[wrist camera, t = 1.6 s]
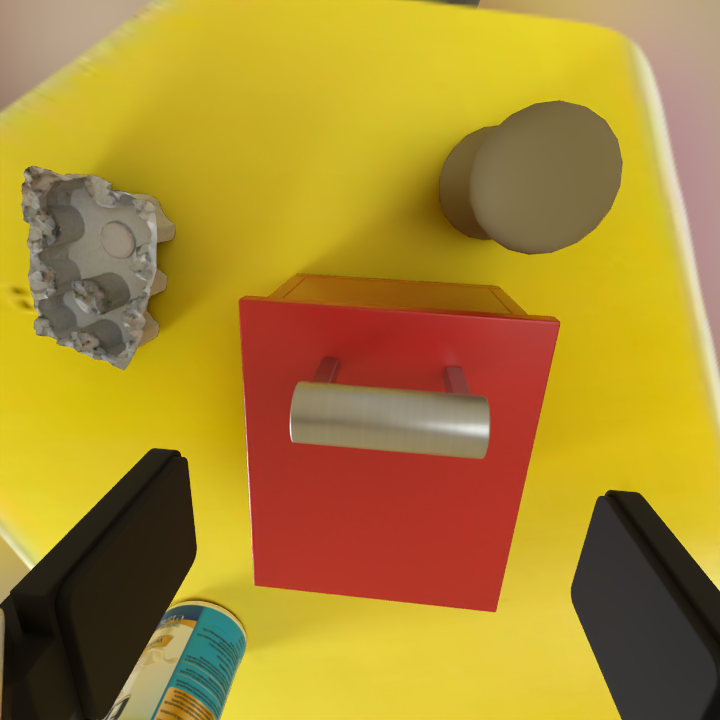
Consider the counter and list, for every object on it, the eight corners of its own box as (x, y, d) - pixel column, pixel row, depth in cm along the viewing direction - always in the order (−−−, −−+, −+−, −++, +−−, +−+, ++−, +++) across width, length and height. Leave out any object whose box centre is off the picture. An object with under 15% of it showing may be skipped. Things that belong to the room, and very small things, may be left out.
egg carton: (74, 159, 26) (19, 153, 23) (192, 209, 27) (157, 211, 23) (53, 317, 30) (2, 335, 26) (156, 358, 31) (122, 381, 27)
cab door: (244, 295, 18) (174, 340, 13) (554, 316, 17) (627, 375, 12) (258, 573, 24) (214, 691, 18) (493, 599, 23) (522, 730, 17)
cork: (419, 167, 25) (432, 151, 15) (518, 100, 23) (611, 29, 13) (469, 259, 26) (513, 303, 16) (565, 202, 25) (681, 210, 15)
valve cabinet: (296, 273, 28) (245, 313, 18) (499, 286, 27) (550, 334, 18) (297, 467, 33) (258, 573, 24) (466, 483, 32) (493, 598, 23)
